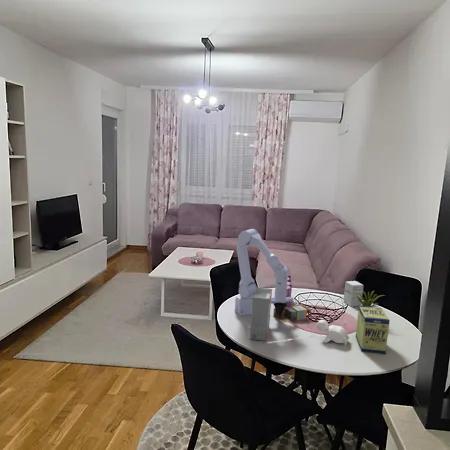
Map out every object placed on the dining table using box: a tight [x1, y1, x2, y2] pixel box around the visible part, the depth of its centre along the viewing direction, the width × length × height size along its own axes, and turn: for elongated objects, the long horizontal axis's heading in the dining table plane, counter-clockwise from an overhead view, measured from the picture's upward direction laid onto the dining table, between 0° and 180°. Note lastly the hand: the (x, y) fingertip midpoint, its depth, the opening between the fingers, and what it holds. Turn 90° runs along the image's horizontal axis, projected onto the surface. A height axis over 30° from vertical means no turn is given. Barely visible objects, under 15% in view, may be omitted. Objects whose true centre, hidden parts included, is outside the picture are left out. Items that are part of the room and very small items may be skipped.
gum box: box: [286, 275, 293, 307], centre depth 230 cm, size 24×8×14 cm, turn 172°
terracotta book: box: [299, 304, 307, 320], centre depth 212 cm, size 2×6×5 cm, turn 22°
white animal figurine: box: [316, 319, 350, 347], centre depth 188 cm, size 9×8×15 cm
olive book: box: [290, 305, 301, 321], centre depth 211 cm, size 2×6×5 cm, turn 22°
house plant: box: [356, 289, 386, 308], centre depth 212 cm, size 14×14×16 cm
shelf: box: [272, 303, 312, 324], centre depth 211 cm, size 17×8×6 cm, turn 112°
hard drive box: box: [249, 286, 273, 342], centre depth 190 cm, size 16×8×20 cm, turn 168°
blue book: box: [294, 305, 304, 321], centre depth 212 cm, size 2×6×5 cm, turn 22°
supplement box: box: [342, 280, 364, 307], centre depth 236 cm, size 7×7×13 cm
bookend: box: [285, 307, 297, 322], centre depth 210 cm, size 3×6×4 cm, turn 22°
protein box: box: [355, 306, 390, 355], centre depth 184 cm, size 10×16×16 cm
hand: (278, 316), depth 207 cm, fingers closed
